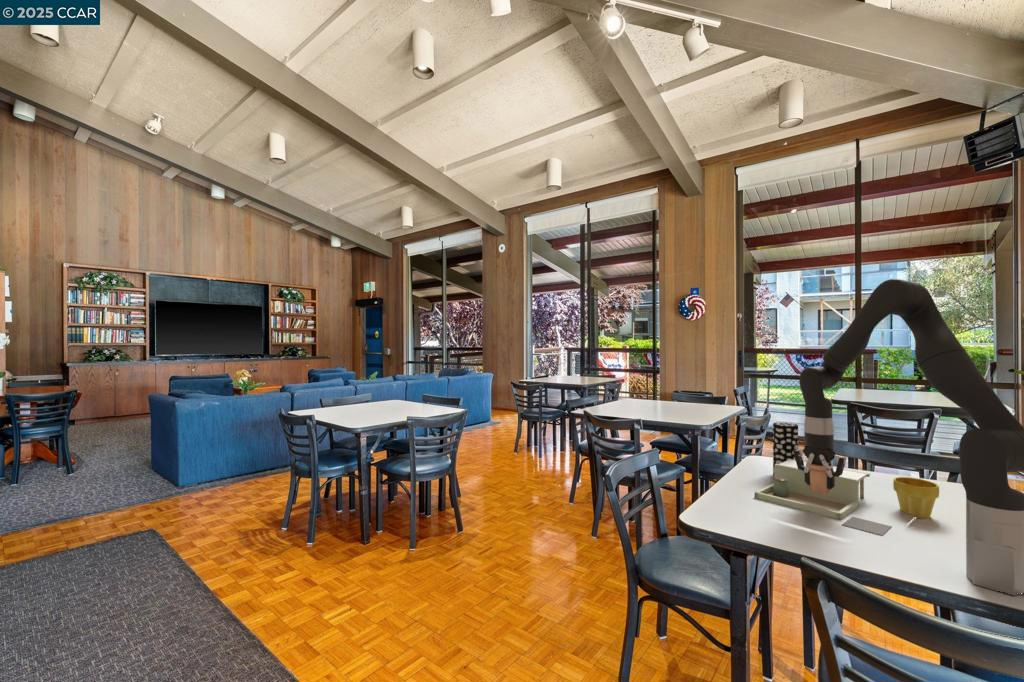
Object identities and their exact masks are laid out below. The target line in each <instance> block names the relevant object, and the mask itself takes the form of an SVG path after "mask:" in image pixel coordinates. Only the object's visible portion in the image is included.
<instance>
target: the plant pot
mask: <svg viewBox="0 0 1024 682" xmlns="http://www.w3.org/2000/svg"><path fill="white" fill-rule="evenodd" d="M892 481H893V483H892V484H893V486H892V487H893V491H894V492H895V493H896V496H897V497H896V498H897V501H898V506H899V511H901V512H904V513H906V514H909V515H913V518H915V517H917V518H916V519H923V518H927V519H929V517H930V518H931V516H932V512H933V509H934V505H935V503H936V500H937V499H938V498H939V497H940V486H939V484H938V483H936V482H933V481H930V480H927V479H923V478H916V477H908V476H907V477H906V476H897V477H894V478H893V480H892Z"/></svg>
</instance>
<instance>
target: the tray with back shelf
mask: <svg viewBox="0 0 1024 682" xmlns="http://www.w3.org/2000/svg"><path fill="white" fill-rule="evenodd" d="M803 462H804V466H806V463H807V461H804V460H803ZM836 468H837V466H833V470H834V472H836ZM773 477H774V478H776V477H780V478H785V479H788V481H789V497H778V496H775V495H774V494H773V483H772V484H769V485H768V486H765V487H763V488H761V489H759V490H756V491H754V498H755V499H759V500H762V501H766V502H771V503H774V504H778V505H782V506H786V507H790V508H794V509H798V510H802V511H805V512H810V513H814V514H818V515H821V516H825V517H827V518H828V517H830V518H833V519H836V520H843V519H844V518H846V517H847V516H848V515H850V514H851V513H852V512H854V511H855V510H856V509H858V508H859V507H860V506H859V505H860V503H859V502H860V501H859V499H860V498H861V499H864V497H865V482H864V481H865V479H866V478H870V477H871V473H869V472H863V471H859V470H853V469H847V468H844V470H843V473H842V475H840V476H839V477H835V486H834V487H833V488H832V489H831V490H830V489H829V493H828V494H821V493H815V492H812V491H810V485H807V483H805V473H804V471H802V470H799V469H798V467H797V464H796V460H793V459H788V461H785V462H783V463H780V464H775V467H774V476H773ZM774 478H773V479H774ZM859 497H860V498H859Z"/></svg>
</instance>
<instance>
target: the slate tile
mask: <svg viewBox="0 0 1024 682" xmlns="http://www.w3.org/2000/svg"><path fill="white" fill-rule="evenodd" d="M841 526H843V527H847V528H851V529H854V530H858V531H861V532H866V533H869V534H872V535H873V534H874V535H877V536H881V537H883V536H884V535H885V534H886V533H887V532H888V531H889V530H891V529H892V527H893V526H891V525H888V524H883V523H879V522H875V521H873V520H872V521H871V520H867V519H864V518H859V517H855V516H851V517H850V518H848V519H847V520H846V521H844V523H842V524H841Z"/></svg>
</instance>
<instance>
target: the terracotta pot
mask: <svg viewBox="0 0 1024 682" xmlns="http://www.w3.org/2000/svg"><path fill="white" fill-rule="evenodd" d="M829 466H830V465H829ZM808 468H810V491H812V492H815V493H821V494H828V493H829V489H827V477H828V474H827V472H826V471H828V470H827V469H826V467H824V466H823V465H819V464H808Z"/></svg>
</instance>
